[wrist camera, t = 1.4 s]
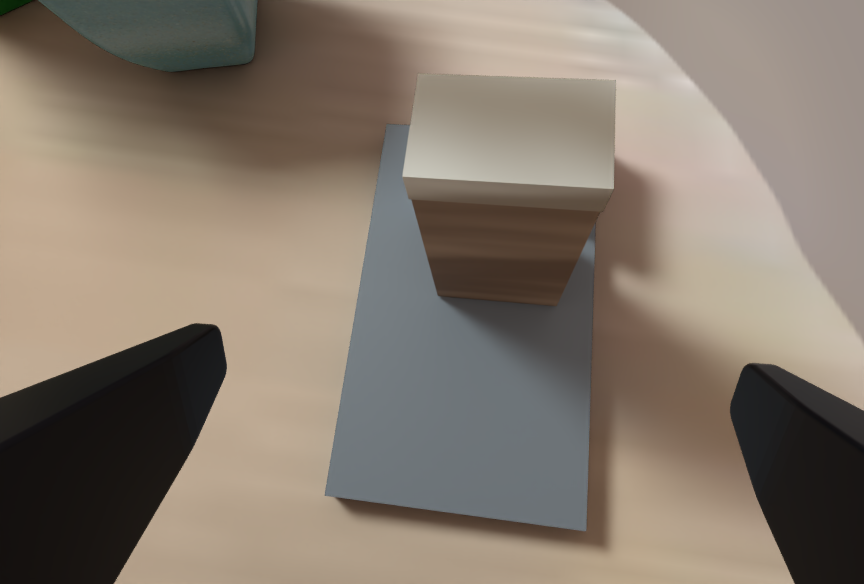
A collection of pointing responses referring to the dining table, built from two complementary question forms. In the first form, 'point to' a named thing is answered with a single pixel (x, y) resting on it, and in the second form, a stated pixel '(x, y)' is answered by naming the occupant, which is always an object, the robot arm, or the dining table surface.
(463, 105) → the block
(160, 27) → the flower pot
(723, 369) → the dining table surface
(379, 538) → the dining table surface
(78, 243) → the dining table surface
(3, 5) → the milk carton
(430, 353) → the slate board
